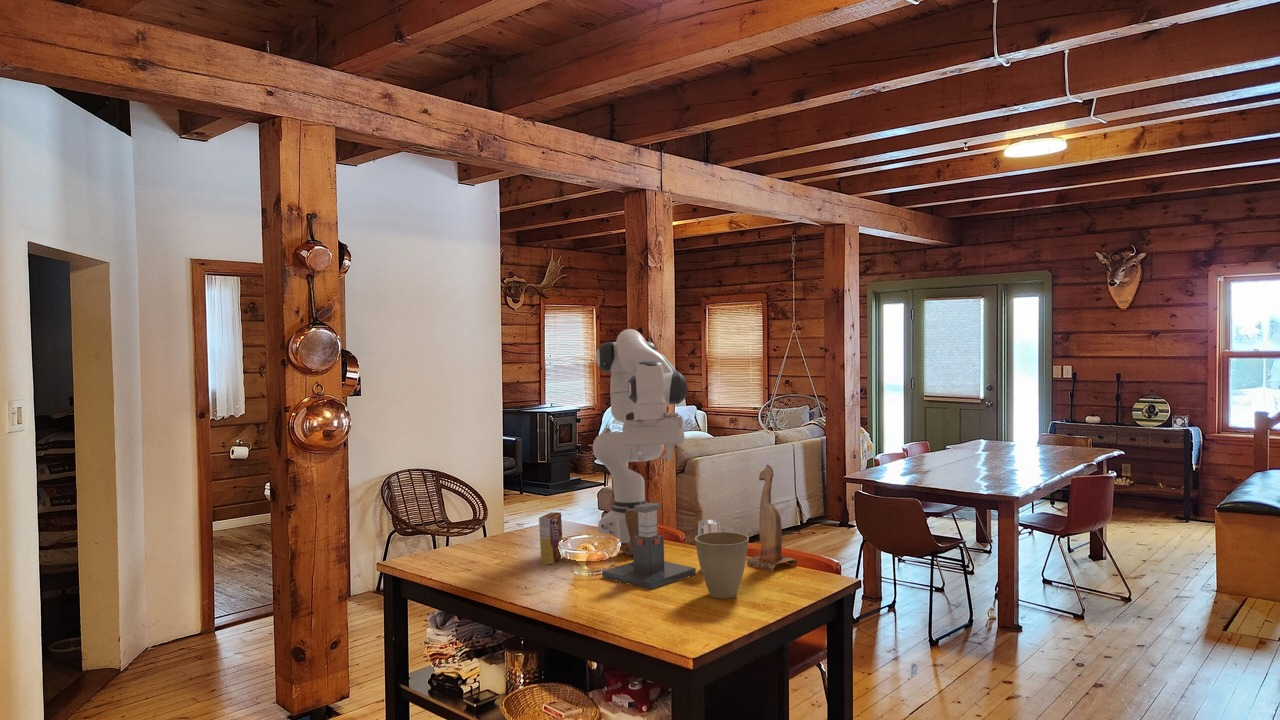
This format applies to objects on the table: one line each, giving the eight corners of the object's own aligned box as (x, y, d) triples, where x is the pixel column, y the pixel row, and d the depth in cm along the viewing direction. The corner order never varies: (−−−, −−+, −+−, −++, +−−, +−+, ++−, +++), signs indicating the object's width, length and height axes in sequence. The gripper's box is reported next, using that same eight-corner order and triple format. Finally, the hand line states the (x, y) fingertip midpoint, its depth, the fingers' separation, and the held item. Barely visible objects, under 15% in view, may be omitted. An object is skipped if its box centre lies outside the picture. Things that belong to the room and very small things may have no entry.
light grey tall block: (635, 569, 247) (634, 505, 247) (651, 564, 252) (649, 502, 252) (646, 572, 244) (644, 507, 244) (662, 567, 249) (660, 503, 249)
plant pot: (687, 591, 232) (686, 535, 232) (734, 584, 237) (733, 529, 237) (710, 606, 218) (709, 546, 218) (759, 599, 223) (758, 540, 223)
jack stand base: (602, 577, 248) (601, 537, 248) (647, 563, 262) (646, 526, 262) (650, 589, 234) (649, 547, 234) (695, 574, 249) (694, 535, 248)
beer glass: (713, 574, 249) (712, 524, 249) (694, 570, 253) (693, 522, 253) (725, 568, 254) (724, 520, 254) (706, 565, 259) (705, 518, 258)
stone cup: (643, 544, 288) (642, 502, 288) (667, 550, 280) (666, 506, 279) (611, 553, 278) (610, 508, 277) (635, 559, 269) (634, 513, 269)
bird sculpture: (769, 559, 265) (764, 461, 265) (798, 565, 256) (793, 463, 256) (746, 566, 258) (740, 465, 258) (774, 572, 249) (769, 467, 249)
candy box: (552, 557, 274) (550, 511, 274) (563, 558, 272) (562, 512, 272) (539, 564, 265) (538, 517, 265) (551, 565, 264) (550, 517, 264)
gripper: (687, 412, 244) (689, 459, 243) (630, 415, 255) (631, 460, 254) (676, 412, 239) (678, 460, 238) (618, 415, 250) (620, 461, 249)
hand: (654, 460), depth 246 cm, fingers open, 8 cm apart
